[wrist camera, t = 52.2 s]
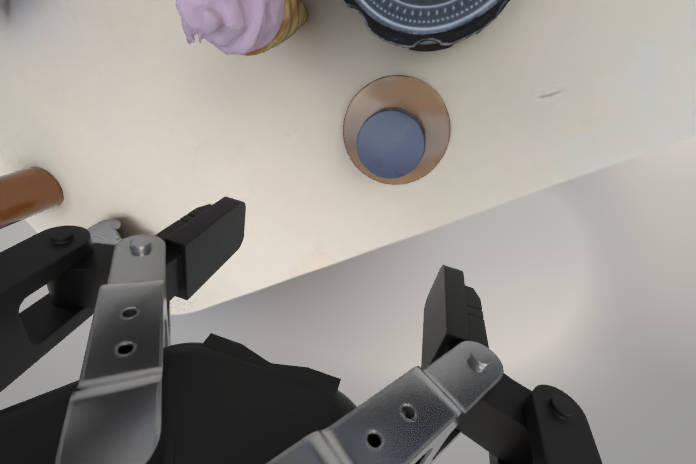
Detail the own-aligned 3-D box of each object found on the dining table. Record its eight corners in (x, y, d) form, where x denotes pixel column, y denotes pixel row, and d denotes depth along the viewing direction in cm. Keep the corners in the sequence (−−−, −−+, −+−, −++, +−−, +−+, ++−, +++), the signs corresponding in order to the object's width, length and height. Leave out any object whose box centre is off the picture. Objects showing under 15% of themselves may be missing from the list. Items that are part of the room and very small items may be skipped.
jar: (19, 174, 46) (-72, 201, 38) (41, 161, 44) (-50, 186, 36) (48, 210, 48) (-33, 243, 40) (70, 198, 46) (-9, 231, 38)
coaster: (331, 94, 32) (329, 95, 31) (438, 59, 29) (438, 59, 28) (360, 191, 36) (359, 193, 35) (458, 170, 32) (458, 172, 32)
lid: (382, 183, 34) (379, 190, 33) (348, 131, 32) (343, 135, 31) (437, 151, 32) (437, 157, 30) (403, 93, 30) (401, 95, 28)
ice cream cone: (277, 66, 32) (169, 77, 19) (248, -9, 29) (102, -55, 17) (342, 38, 29) (269, 29, 17) (316, -46, 27) (207, -132, 14)
